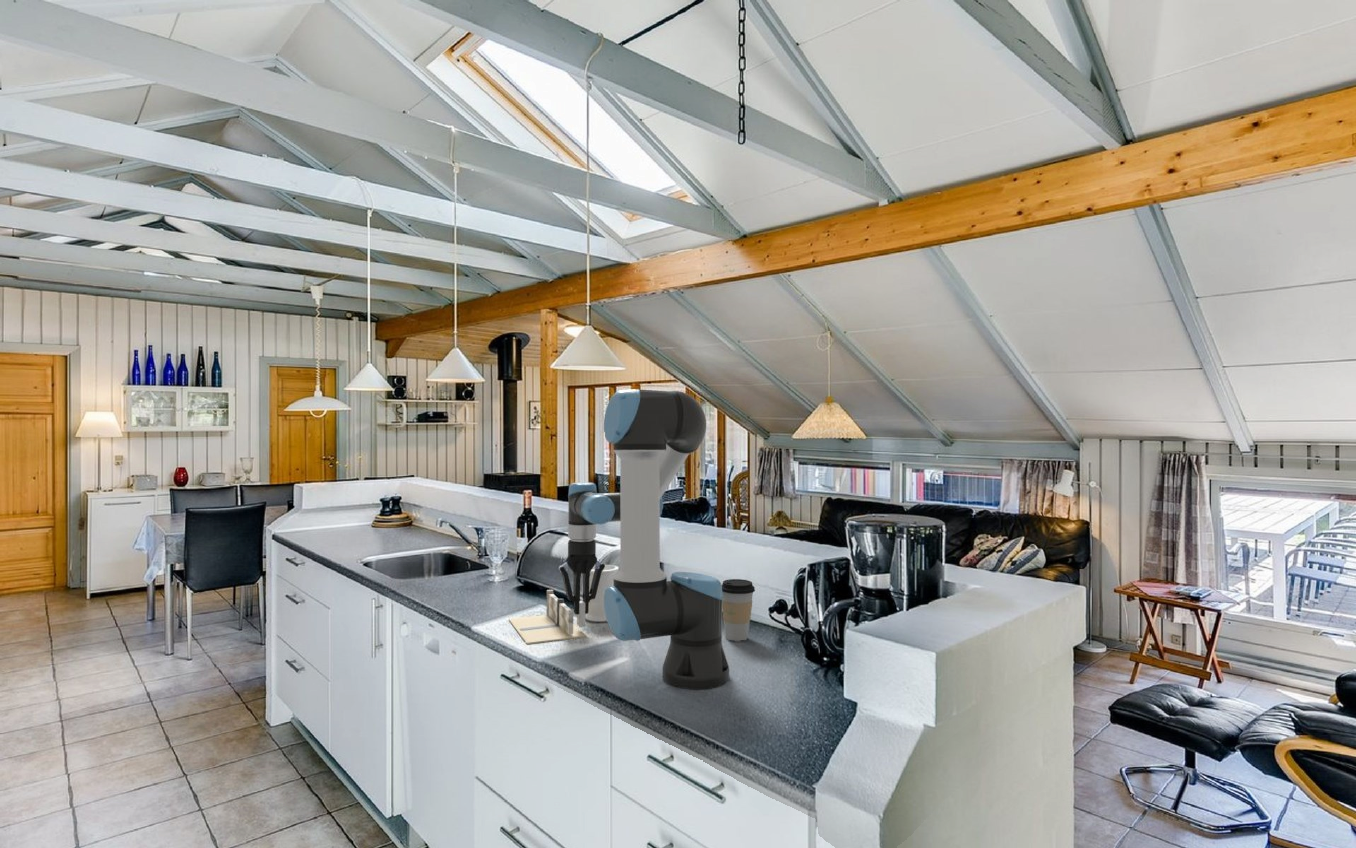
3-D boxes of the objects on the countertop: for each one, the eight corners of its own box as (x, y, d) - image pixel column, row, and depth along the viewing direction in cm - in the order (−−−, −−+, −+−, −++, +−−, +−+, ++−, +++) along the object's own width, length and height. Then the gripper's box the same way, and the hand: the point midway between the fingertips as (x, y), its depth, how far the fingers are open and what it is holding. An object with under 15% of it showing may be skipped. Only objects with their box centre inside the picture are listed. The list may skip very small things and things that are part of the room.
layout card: (586, 637, 187) (586, 635, 187) (526, 644, 180) (526, 642, 180) (562, 614, 209) (562, 612, 209) (508, 620, 202) (508, 618, 202)
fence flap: (574, 634, 187) (574, 608, 187) (567, 634, 186) (567, 609, 186) (562, 622, 197) (562, 598, 197) (556, 623, 197) (556, 599, 197)
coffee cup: (713, 640, 186) (714, 583, 186) (727, 631, 194) (728, 577, 194) (746, 645, 181) (747, 588, 181) (759, 636, 190) (760, 581, 190)
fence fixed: (565, 626, 196) (565, 600, 196) (557, 627, 195) (557, 601, 195) (553, 613, 208) (553, 589, 208) (545, 614, 207) (545, 590, 207)
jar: (620, 614, 210) (621, 564, 210) (614, 624, 200) (615, 571, 200) (586, 613, 211) (586, 563, 211) (578, 622, 201) (578, 570, 201)
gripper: (600, 535, 197) (599, 619, 197) (555, 538, 192) (554, 624, 192) (609, 540, 190) (608, 626, 190) (562, 542, 185) (561, 632, 185)
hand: (580, 625), depth 191 cm, fingers closed
